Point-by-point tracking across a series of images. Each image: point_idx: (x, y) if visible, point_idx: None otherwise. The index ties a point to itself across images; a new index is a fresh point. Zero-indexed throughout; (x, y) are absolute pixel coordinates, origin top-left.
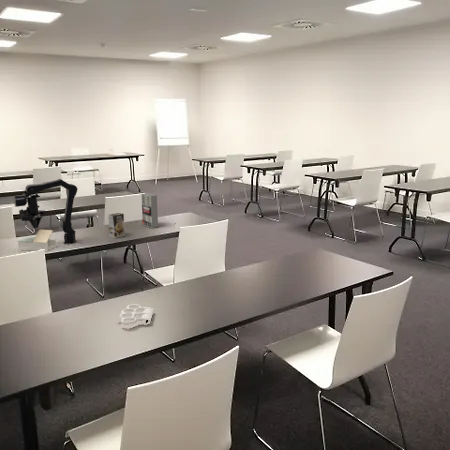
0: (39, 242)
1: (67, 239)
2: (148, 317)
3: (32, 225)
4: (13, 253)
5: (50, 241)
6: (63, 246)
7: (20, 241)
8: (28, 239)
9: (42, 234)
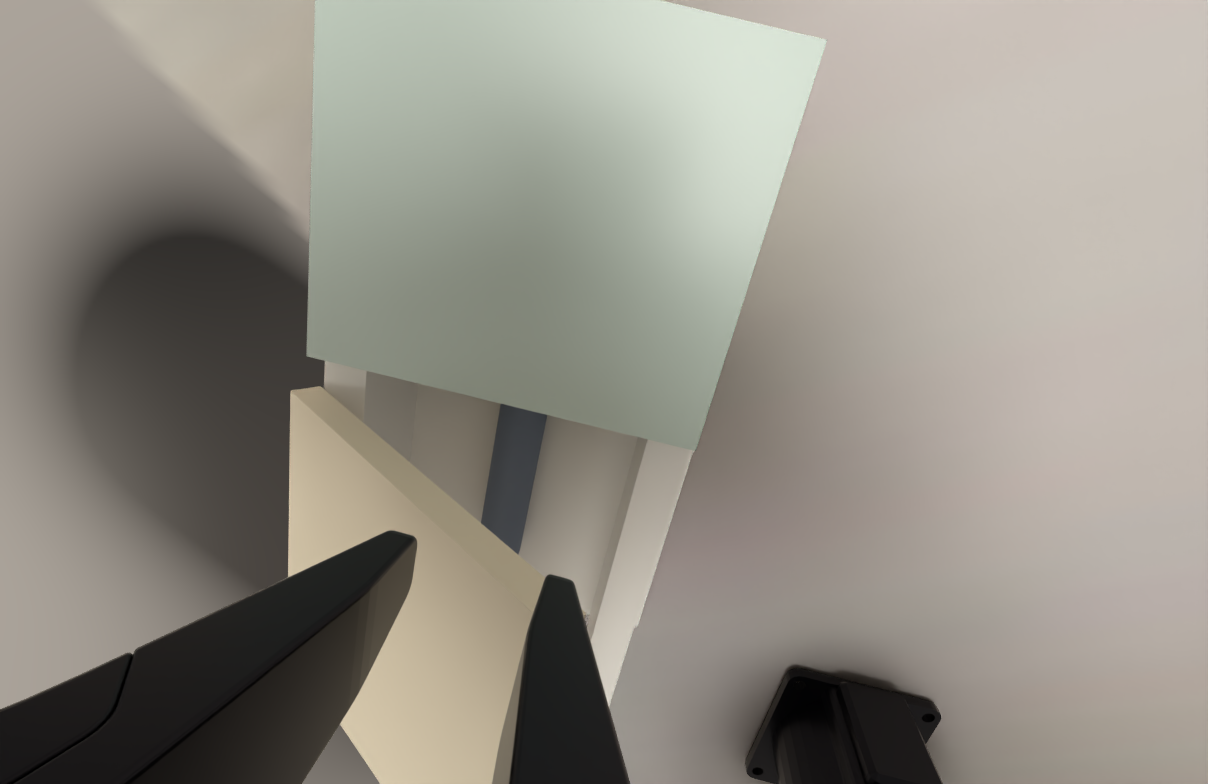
0: (294, 529)
1: (787, 772)
2: None
3: (213, 635)
4: (175, 4)
5: (598, 600)
6: (619, 684)
7: (324, 25)
8: (473, 213)
9: (405, 652)
